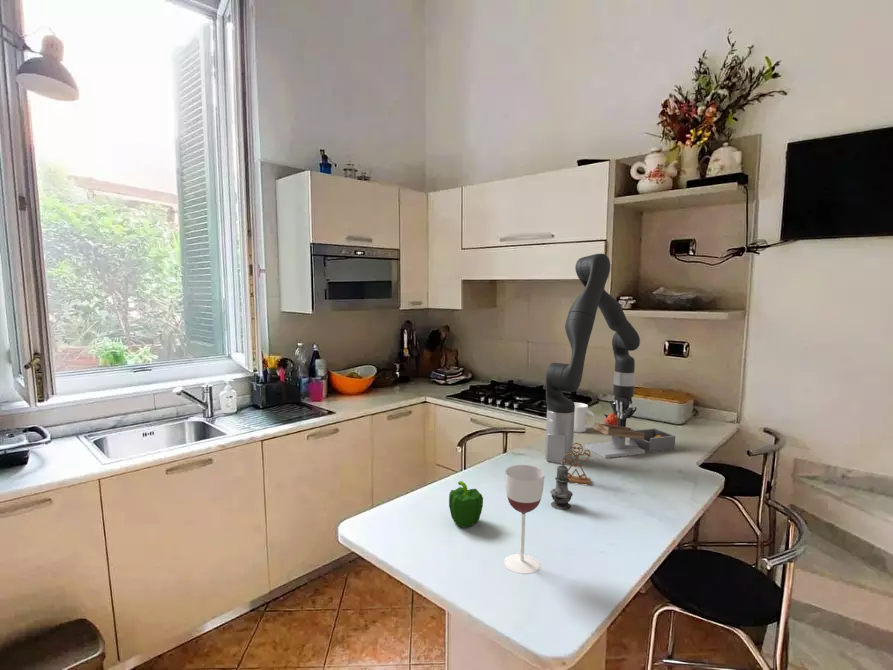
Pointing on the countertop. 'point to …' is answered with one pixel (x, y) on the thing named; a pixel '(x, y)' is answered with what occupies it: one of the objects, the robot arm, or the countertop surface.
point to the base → (614, 448)
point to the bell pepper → (465, 505)
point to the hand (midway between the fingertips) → (621, 427)
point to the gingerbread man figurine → (579, 478)
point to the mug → (582, 418)
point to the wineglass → (523, 509)
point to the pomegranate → (611, 419)
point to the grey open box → (654, 440)
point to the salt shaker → (561, 490)
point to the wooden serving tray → (618, 431)
